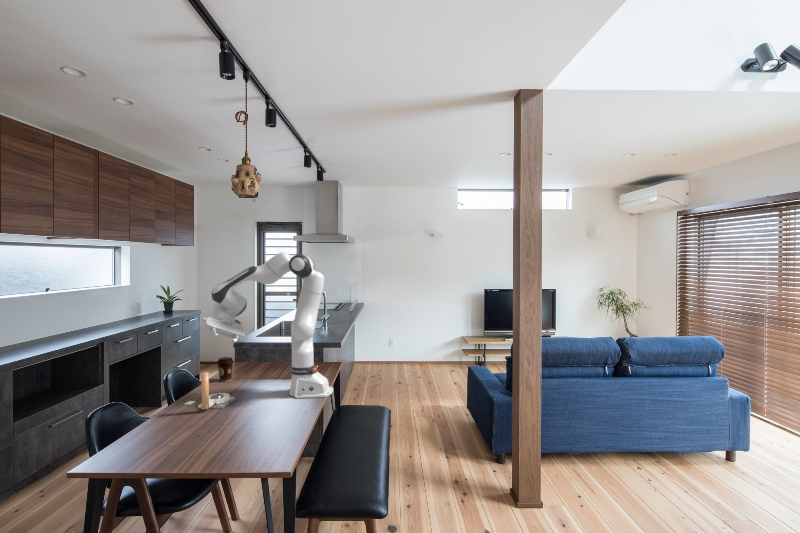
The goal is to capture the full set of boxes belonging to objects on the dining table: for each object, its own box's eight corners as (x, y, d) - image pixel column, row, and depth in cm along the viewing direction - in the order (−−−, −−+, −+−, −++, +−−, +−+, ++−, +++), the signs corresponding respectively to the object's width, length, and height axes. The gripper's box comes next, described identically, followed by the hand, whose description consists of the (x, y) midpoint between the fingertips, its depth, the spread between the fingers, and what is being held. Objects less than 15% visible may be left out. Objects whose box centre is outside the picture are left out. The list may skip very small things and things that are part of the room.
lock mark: (195, 401, 189) (195, 401, 189) (190, 404, 185) (190, 404, 185) (189, 401, 189) (189, 401, 189) (184, 404, 185) (184, 403, 185)
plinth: (235, 399, 192) (234, 391, 192) (222, 408, 180) (222, 399, 180) (211, 399, 193) (211, 391, 193) (197, 408, 181) (197, 399, 181)
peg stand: (212, 396, 192) (211, 364, 192) (233, 396, 192) (233, 364, 192) (191, 409, 175) (191, 374, 175) (215, 409, 175) (214, 374, 175)
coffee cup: (219, 383, 218) (219, 360, 218) (215, 380, 225) (214, 358, 225) (235, 380, 224) (235, 358, 224) (230, 377, 230) (230, 355, 230)
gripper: (206, 310, 187) (207, 326, 177) (245, 324, 200) (248, 339, 189) (199, 321, 188) (200, 337, 177) (238, 333, 201) (241, 349, 190)
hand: (225, 338), depth 183 cm, fingers open, 8 cm apart
